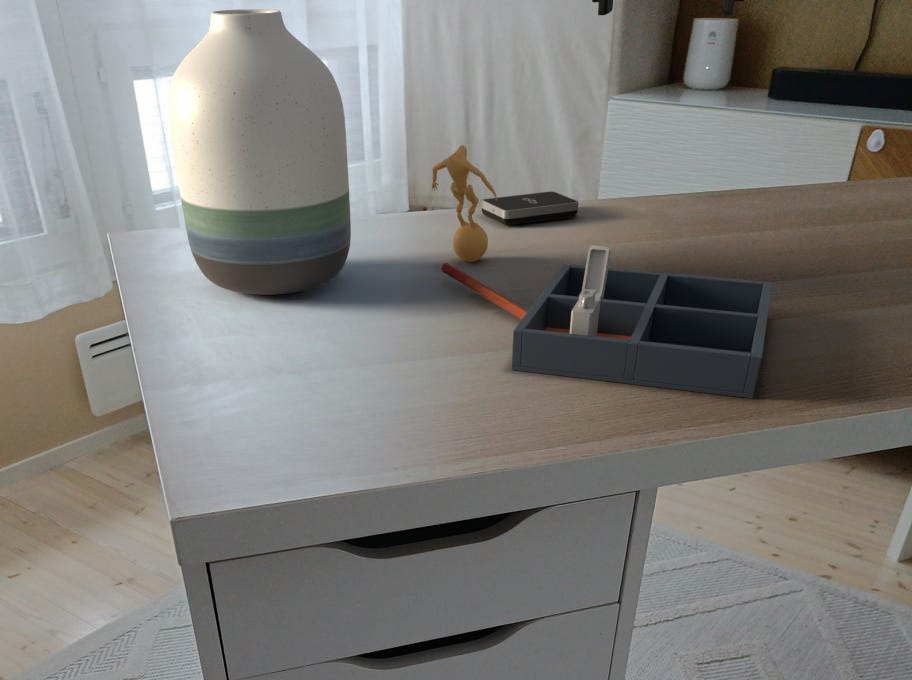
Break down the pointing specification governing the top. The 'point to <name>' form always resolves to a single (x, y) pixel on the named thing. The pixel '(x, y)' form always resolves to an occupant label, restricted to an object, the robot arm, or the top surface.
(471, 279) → the pencil
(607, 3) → the robot arm
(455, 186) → the figurine
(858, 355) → the top surface
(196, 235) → the vase
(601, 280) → the lighter
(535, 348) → the grid
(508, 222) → the external hard drive
